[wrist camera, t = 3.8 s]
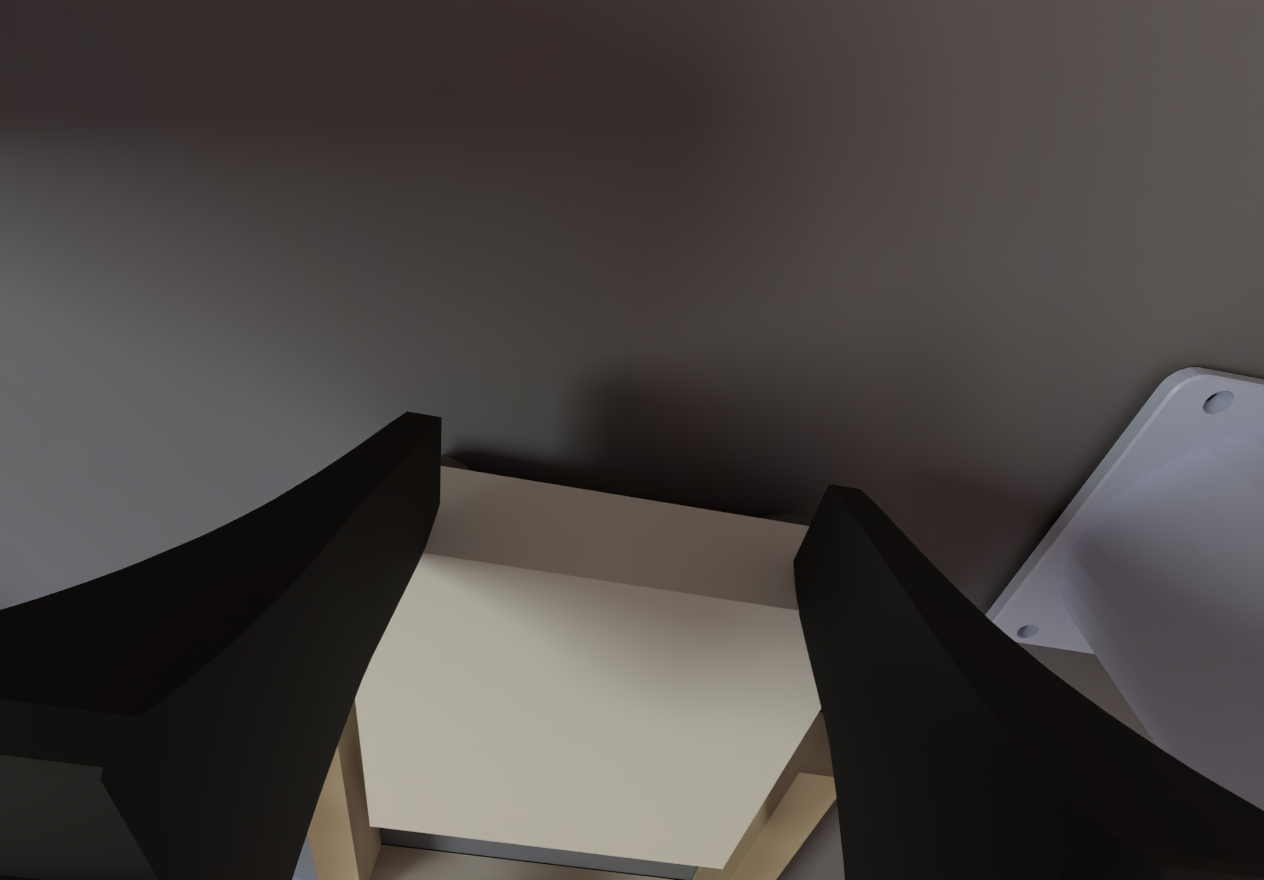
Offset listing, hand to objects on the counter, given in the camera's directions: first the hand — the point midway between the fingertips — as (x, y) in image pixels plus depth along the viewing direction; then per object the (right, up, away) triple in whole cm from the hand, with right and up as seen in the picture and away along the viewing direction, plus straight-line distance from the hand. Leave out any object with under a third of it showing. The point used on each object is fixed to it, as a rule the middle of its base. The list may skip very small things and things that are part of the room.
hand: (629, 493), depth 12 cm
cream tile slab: (-1, -4, +6) cm, 7 cm away
